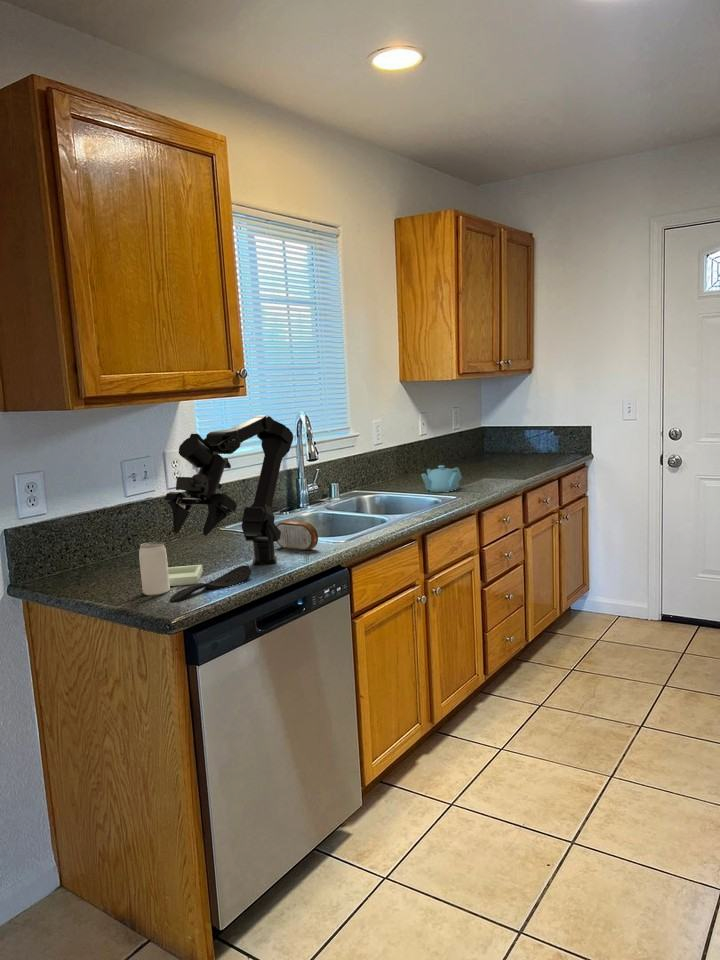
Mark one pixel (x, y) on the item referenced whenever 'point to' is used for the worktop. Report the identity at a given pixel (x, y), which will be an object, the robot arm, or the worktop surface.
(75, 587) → the worktop surface
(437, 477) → the teapot
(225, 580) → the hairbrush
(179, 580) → the tray
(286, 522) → the tin
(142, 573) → the can
